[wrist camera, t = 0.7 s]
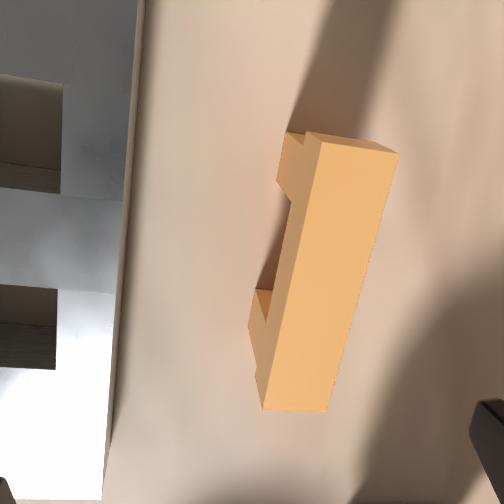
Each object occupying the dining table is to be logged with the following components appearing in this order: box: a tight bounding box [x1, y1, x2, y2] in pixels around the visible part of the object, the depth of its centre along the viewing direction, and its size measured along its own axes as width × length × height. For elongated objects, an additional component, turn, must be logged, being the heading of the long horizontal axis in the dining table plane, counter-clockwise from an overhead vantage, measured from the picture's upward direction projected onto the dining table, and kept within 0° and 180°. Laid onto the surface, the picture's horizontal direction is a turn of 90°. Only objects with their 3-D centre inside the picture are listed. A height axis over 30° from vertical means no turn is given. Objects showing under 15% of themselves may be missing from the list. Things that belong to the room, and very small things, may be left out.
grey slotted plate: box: [0, 0, 146, 499], centre depth 17 cm, size 24×8×3 cm, turn 170°
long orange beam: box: [248, 131, 400, 413], centre depth 19 cm, size 2×10×5 cm, turn 170°
